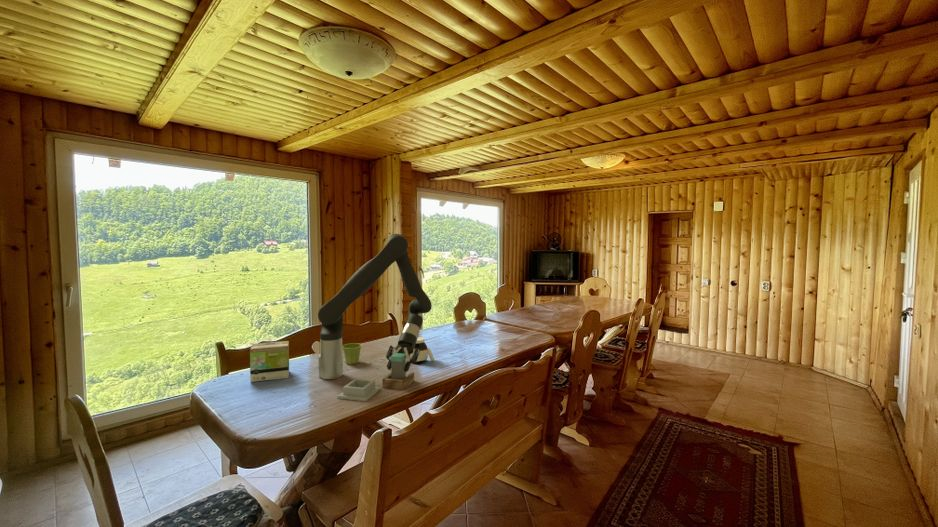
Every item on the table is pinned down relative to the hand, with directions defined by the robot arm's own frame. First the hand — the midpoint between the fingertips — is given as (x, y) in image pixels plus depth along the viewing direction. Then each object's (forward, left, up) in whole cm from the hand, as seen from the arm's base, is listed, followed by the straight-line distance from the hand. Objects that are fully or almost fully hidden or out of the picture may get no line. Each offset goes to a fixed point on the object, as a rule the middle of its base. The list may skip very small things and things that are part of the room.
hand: (396, 370), depth 158 cm
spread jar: (-1, +32, -7) cm, 33 cm away
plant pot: (-34, +22, -7) cm, 41 cm away
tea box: (-59, -4, -7) cm, 59 cm away
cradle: (0, +1, -6) cm, 7 cm away
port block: (-11, -12, -6) cm, 17 cm away
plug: (0, +1, -5) cm, 5 cm away
